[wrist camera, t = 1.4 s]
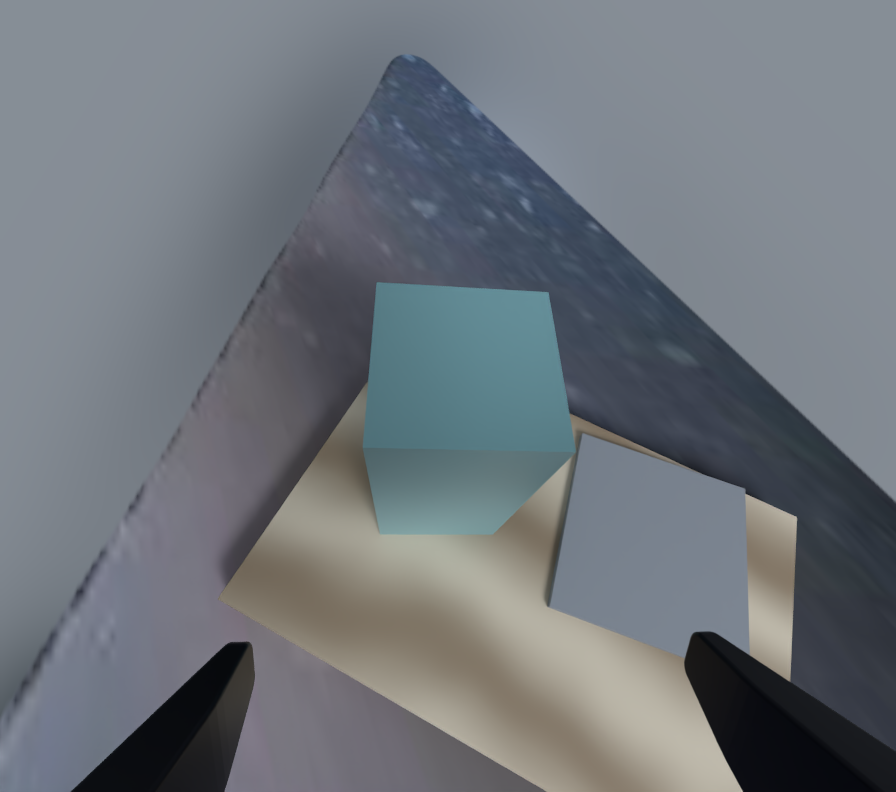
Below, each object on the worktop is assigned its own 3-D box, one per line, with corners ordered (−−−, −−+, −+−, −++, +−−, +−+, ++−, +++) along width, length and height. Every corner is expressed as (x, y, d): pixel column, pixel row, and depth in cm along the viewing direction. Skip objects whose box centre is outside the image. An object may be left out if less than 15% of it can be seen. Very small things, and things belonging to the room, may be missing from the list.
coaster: (743, 680, 18) (750, 681, 18) (547, 606, 19) (550, 606, 19) (739, 491, 23) (745, 488, 22) (579, 436, 23) (582, 433, 23)
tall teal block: (492, 534, 20) (576, 452, 11) (380, 534, 20) (362, 447, 10) (485, 432, 23) (548, 292, 13) (386, 429, 22) (376, 282, 13)
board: (749, 903, 16) (816, 956, 14) (229, 600, 19) (203, 596, 17) (774, 523, 24) (821, 510, 21) (399, 349, 27) (399, 319, 24)
